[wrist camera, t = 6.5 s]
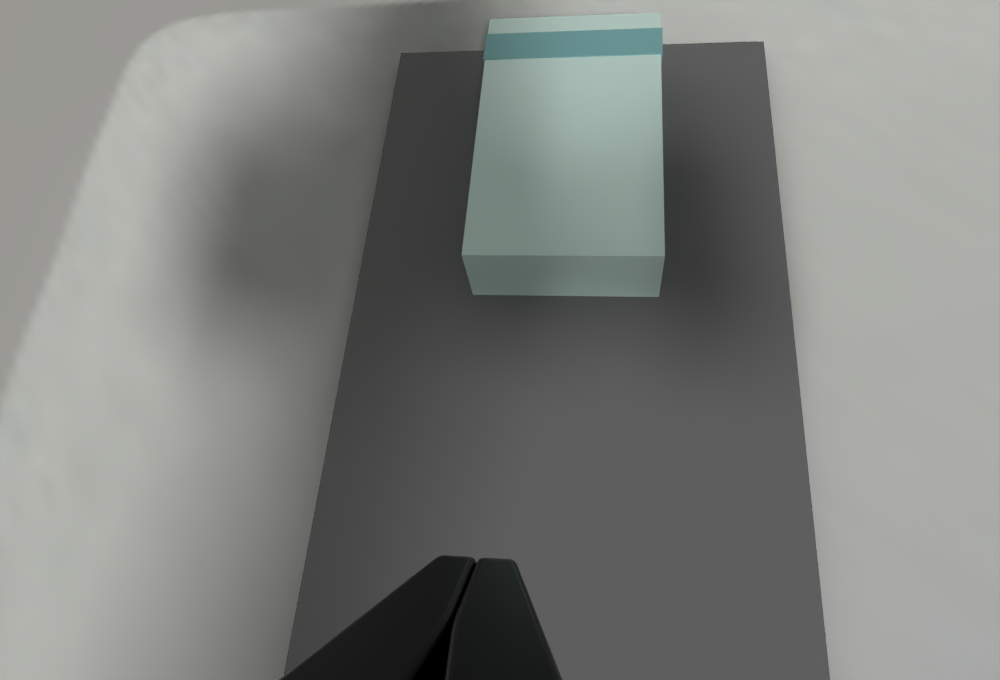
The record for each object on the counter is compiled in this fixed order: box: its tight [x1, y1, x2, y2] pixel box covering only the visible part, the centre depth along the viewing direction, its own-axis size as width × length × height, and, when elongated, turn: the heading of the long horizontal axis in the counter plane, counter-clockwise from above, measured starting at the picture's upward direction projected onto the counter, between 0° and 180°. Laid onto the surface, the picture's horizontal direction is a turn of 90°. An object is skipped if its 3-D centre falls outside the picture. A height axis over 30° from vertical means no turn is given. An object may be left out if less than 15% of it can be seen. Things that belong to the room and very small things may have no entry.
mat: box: [284, 42, 830, 680], centre depth 24 cm, size 24×14×1 cm, turn 175°
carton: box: [462, 13, 665, 297], centre depth 26 cm, size 2×6×10 cm
